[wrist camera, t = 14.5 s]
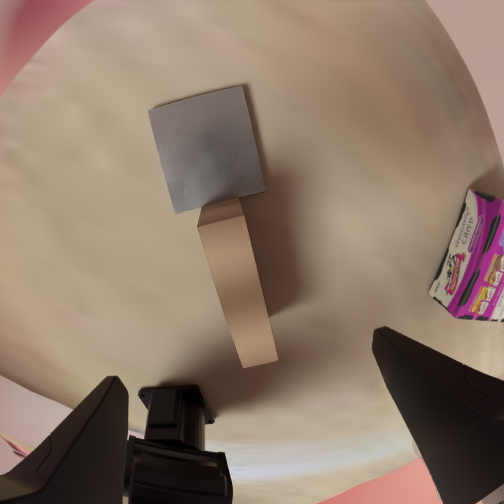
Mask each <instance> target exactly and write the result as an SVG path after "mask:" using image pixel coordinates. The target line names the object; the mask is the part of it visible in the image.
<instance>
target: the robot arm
mask: <svg viewBox="0 0 504 504" xmlns="http://www.w3.org/2000/svg"><path fill="white" fill-rule="evenodd" d="M372 351H373V354H374V356H375V359H376V361H377V364H378V366H379V369H380V371H381V374H382V376H383V379H384V382H385V384H386V386H387V388H388V390H389V392H390V394H391V396H392V398H393V400H394V402H395V404H396V406H397V408H398V409H399V411H400V413H401V415H402V417H403V419H404V421H405V423H406V425H407V427H408V429H409V431H410V433H411V435H412V437H413V439H414V441H415V443H416V445H417V447H418V449H419V451H420V453H421V455H422V458H423V460H424V462H425V464H426V466H427V468H428V470H429V472H430V475H431V477H432V479H433V482H434V484H435V486H436V488H437V490H438V493H439V495H440V497H441V500H442V502H443V504H476V503H477V502H479V501H480V500H482V502H483V504H504V380H501V379H498V378H495V377H492V376H490V375H487V374H485V373H482V372H480V371H478V370H475V369H473V368H471V367H469V366H467V365H465V364H464V365H463V364H462V363H461V362H458V361H456V360H454V359H452V358H450V357H448V356H446V355H444V354H442V353H440V352H438V351H436V350H434V349H432V348H430V347H427V346H425V345H423V344H421V343H419V342H417V341H415V340H413V339H411V338H409V337H407V336H405V335H403V334H401V333H399V332H397V331H395V330H393V329H391V328H389V327H386V326H383V327H380V328H377V329H375V330H374V334H373V342H372ZM138 396H139V398H140V399H141V401H142V402H143V404H144V405H145V406H146V408H147V409H148V415H147V421H146V423H147V424H146V430H145V436H144V439H140V438H136V437H135V436H132V435H130V436H129V440H127V437H128V403H129V395H128V391H127V389H126V387H125V386H124V384H123V383H122V381H121V380H120V378H119V377H118V376H107V377H106V378H105V379H104V380H103V381H102V382H101V383H100V384H99V385H98V386H97V387H96V388H95V389H94V390H93V391H92V392H91V393H90V394H89V395H88V396H87V397H86V398H85V399H84V400H83V401H82V402H81V403H80V404H79V405H78V406H77V407H76V408H75V409H74V410H73V411H72V412H71V413H70V414H69V415H68V416H67V417H66V418H65V419H64V420H63V421H62V422H61V423H60V425H58V426H57V427H56V428H55V430H54V431H53V432H52V433H51V434H50V435H49V436H48V437H47V438H46V439H45V440H44V441H43V442H42V443H41V444H40V445H39V446H38V447H37V448H36V449H35V450H34V451H32V452H31V453H30V454H29V455H28V456H27V457H26V458H25V459H23V461H21V462H20V463H19V464H18V465H16V466H15V467H14V468H13V469H12V470H11V471H9V472H7V473H6V474H3V475H0V504H123V497H127V498H128V504H232V499H233V486H232V481H231V477H230V473H229V469H228V465H227V460H226V456H225V452H210V451H205V424H213V423H214V422H215V418H214V416H213V414H212V412H211V410H210V408H209V406H208V404H207V401H206V399H205V397H204V395H203V393H202V391H201V388H200V387H199V386H197V385H191V386H182V387H171V388H159V389H145V390H139V392H138Z"/></svg>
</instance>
